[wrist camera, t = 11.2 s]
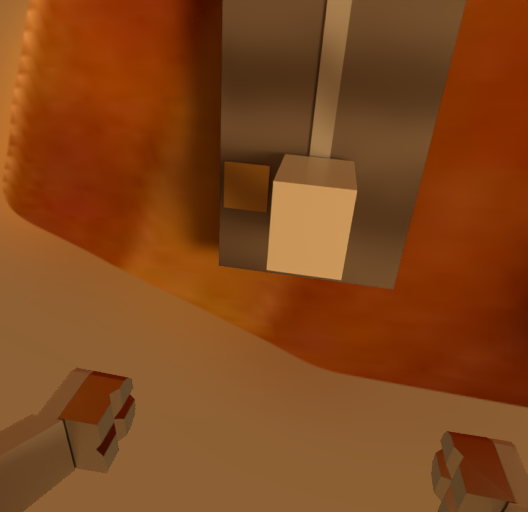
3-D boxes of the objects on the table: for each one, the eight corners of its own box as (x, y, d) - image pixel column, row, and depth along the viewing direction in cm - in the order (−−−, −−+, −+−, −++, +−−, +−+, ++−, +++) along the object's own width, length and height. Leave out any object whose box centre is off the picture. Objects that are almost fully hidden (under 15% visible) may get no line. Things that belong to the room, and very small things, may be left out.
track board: (241, -248, 20) (225, -292, 17) (511, -247, 18) (542, -296, 16) (228, 246, 32) (218, 266, 29) (388, 267, 31) (393, 290, 28)
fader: (285, 153, 25) (273, 180, 20) (354, 161, 24) (357, 190, 20) (278, 231, 27) (266, 270, 23) (341, 239, 27) (341, 280, 22)
